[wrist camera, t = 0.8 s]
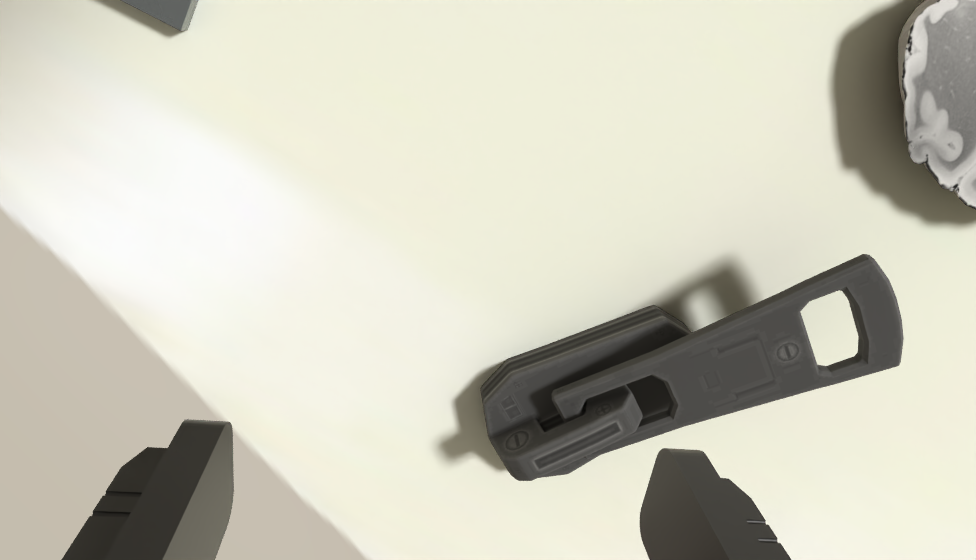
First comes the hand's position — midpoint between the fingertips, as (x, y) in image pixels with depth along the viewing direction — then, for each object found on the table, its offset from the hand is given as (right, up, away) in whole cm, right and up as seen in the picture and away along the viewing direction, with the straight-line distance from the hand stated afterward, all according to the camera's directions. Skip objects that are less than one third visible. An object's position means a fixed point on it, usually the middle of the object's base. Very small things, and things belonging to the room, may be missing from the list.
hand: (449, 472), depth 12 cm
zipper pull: (+12, -1, +31) cm, 33 cm away
